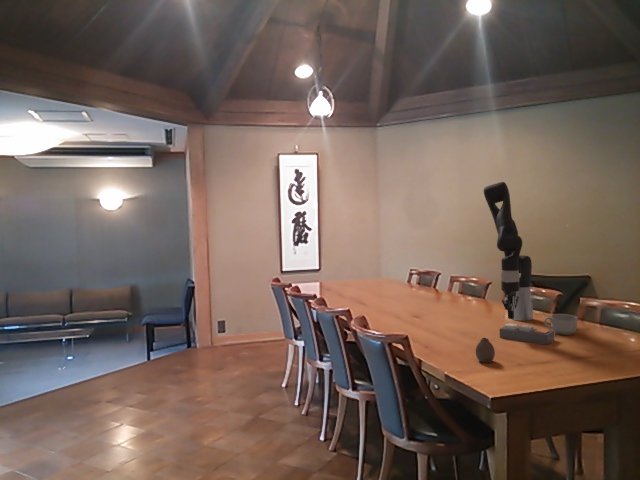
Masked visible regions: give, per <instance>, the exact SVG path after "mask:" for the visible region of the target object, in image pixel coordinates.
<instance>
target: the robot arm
mask: <svg viewBox="0 0 640 480" xmlns="http://www.w3.org/2000/svg"><path fill="white" fill-rule="evenodd" d="M483 194H484V195H483V196H484V198H485V201H486V203H487V206H488V207H489V211H490V213H491V216H492V219H493V222H494V226H495V228H496V233H497V240H496V247H497V249H498V250H499V251H501V252H503V254H504V256H503V257H502V258H501V275H500V279H501V282H500V283H501V291H502V292H504V297H503V298H504V299H502V300H501V302H502V304H503V307H504V310H506V311H507V319H509V320H514V321H519V322H522V321H523V322H528V321H531V320H533V319H534V317H533V315H534V314H533V313H534V311H533V310H534V309H533V308H534V305H533V301H532V298H531V297H532V296H531V295H532V294H531V293H532V291H531V288H532V287H531V285H532V283H531V282H532V267H533V265H532V262H533V261H532V259H531V257H530V256H529V255H522V254H521V252H522V248H523V239H522V237H521V236H520V235H519V230H518V228H517V225H516V222H515V220H514V219H513V217H512V207H511V204H512V203H511V196H510V192H509V188H508V186H507V183H506V182H504V181H501V182H497V183H493V184H490V185H486V186H484V187H483ZM497 203H502V204H501V207H500V208H499V207H498V206H497ZM520 254H521V255H520Z"/></svg>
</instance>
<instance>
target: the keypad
mask: <svg viewBox="0 0 640 480" xmlns="http://www.w3.org/2000/svg"><path fill="white" fill-rule="evenodd" d="M536 330H538V328H534V330H533V331H531V332H526V331H519V328H518V329H516V330H511V329H504V326H502V327H500V328H499V338H500V339H507V340H512V341H513V340H514V341H521V342H525V343H534V344H539V345H549V344H551V343H553V342H554V341H555V331H554V330H548V331H549V333H547V334H541V333H534V331H536Z"/></svg>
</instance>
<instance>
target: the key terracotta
mask: <svg viewBox="0 0 640 480" xmlns="http://www.w3.org/2000/svg"><path fill="white" fill-rule="evenodd" d="M537 329H538V328H537ZM549 331H550V330H546V329H538V330H536V331H534V333H541V334H547V333H549Z"/></svg>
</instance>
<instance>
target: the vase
mask: <svg viewBox="0 0 640 480" xmlns="http://www.w3.org/2000/svg"><path fill="white" fill-rule="evenodd" d="M475 356H476V358H477V360H478V361H479V362H481V363H485V364H489V363H491V362H492V361H493V360H494V359H495V357H496V351H495V347H494V345H493V344H492V343H491V342H490V340H489V338H487V337H482V338H480V341H479V342H478V343H477V345H476V346H475Z"/></svg>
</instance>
